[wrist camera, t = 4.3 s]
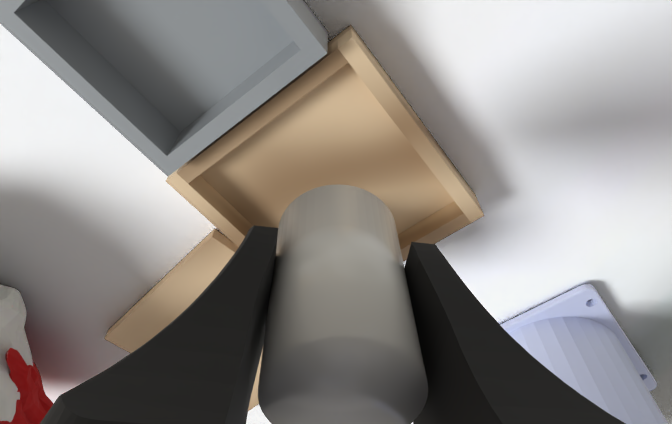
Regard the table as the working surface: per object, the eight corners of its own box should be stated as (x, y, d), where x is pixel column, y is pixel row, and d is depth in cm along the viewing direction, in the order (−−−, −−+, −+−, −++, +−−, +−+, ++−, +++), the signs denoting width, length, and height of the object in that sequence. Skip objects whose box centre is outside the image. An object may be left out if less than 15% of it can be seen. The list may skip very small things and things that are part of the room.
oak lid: (354, 327, 27) (355, 354, 26) (244, 405, 31) (240, 433, 29) (214, 228, 24) (206, 253, 22) (108, 329, 27) (95, 357, 26)
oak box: (475, 194, 23) (484, 215, 21) (312, 290, 26) (311, 313, 24) (350, 24, 19) (352, 37, 17) (175, 161, 22) (165, 181, 20)
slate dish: (327, 31, 19) (327, 53, 17) (183, 145, 21) (167, 176, 19) (173, -171, 16) (149, -176, 13) (24, -9, 18) (-16, 8, 16)
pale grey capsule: (418, 245, 15) (458, 406, 11) (324, 297, 16) (324, 465, 12) (352, 162, 14) (366, 308, 9) (253, 225, 15) (222, 385, 10)
